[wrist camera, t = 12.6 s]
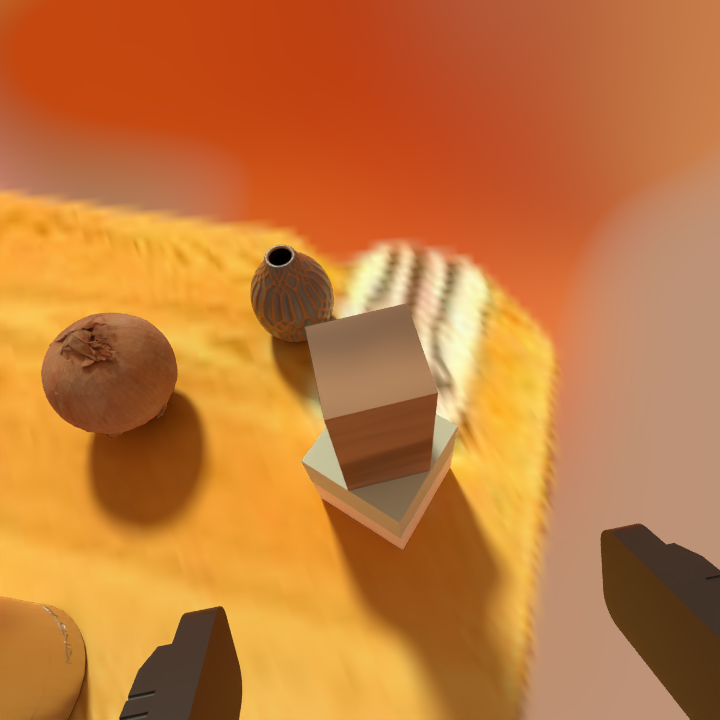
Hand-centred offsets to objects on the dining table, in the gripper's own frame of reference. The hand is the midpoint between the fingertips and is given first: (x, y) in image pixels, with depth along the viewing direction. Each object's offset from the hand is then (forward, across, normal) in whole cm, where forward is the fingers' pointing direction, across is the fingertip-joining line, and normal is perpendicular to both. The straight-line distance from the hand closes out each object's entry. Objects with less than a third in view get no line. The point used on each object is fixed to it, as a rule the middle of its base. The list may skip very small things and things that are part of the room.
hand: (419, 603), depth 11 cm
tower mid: (+23, -1, +8) cm, 24 cm away
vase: (+38, +3, 0) cm, 38 cm away
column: (+20, -1, +5) cm, 21 cm away
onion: (+34, +18, +3) cm, 39 cm away
